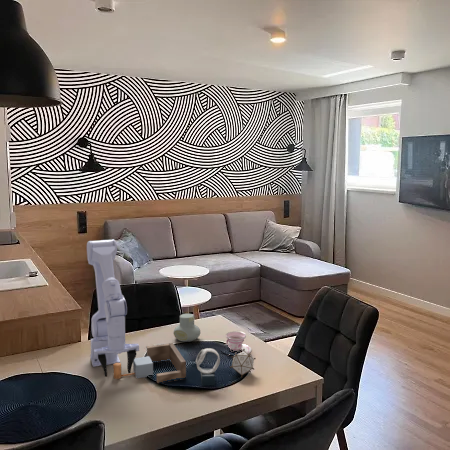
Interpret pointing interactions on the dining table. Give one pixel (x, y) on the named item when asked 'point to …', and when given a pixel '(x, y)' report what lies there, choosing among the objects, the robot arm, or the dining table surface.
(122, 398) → the dining table surface
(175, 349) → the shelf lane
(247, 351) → the teacup
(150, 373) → the pull block
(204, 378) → the watch
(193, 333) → the air freshener
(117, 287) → the robot arm
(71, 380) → the dining table surface
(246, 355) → the game die
